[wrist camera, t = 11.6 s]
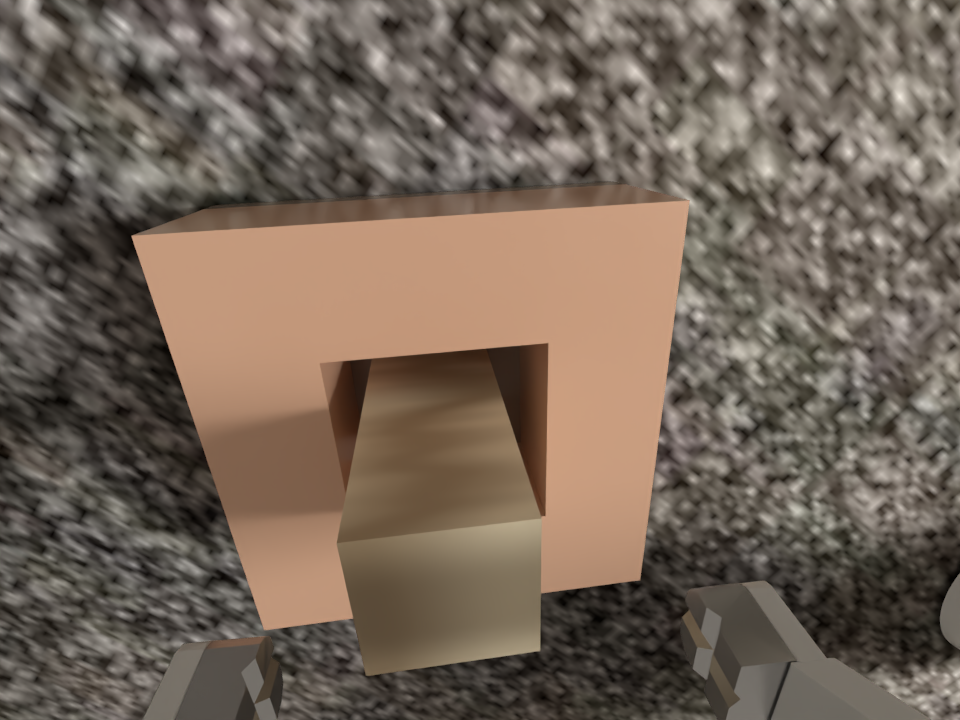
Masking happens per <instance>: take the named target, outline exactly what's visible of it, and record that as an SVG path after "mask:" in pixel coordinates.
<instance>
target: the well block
mask: <svg viewBox="0 0 960 720" xmlns="http://www.w3.org/2000/svg"><path fill="white" fill-rule="evenodd" d="M689 201H690V200H686V199H682V198H678V197H674V196H670V195H666V194H662V193H658V192H654V191H650V190H646V189H642V188H638V187H634V186H630V185H626V184H622V183H618V182H599V183H582V184H566V185H549V186H532V187H515V188H498V189H481V190H464V191H447V192H430V193H413V194H396V195H379V196H362V197H345V198H328V199H311V200H294V201H277V202H260V203H243V204H226V205H214V206H211V207H209V208H206V209H203V210H200V211H198V212H195V213H192V214H190V215H187V216H184V217H181V218H179V219H176V220H173V221H170V222H168V223H165V224H162V225H159V226H157V227H154V228H151V229H148V230H146V231H143V232H140V233H137V234H135V235H132V236H131V237H132V239H133V242H134V245H135V248H136V251H137V254H138V257H139V260H140V263H141V266H142V269H143V272H144V275H145V278H146V281H147V284H148V287H149V290H150V293H151V296H152V299H153V302H154V305H155V308H156V311H157V314H158V316H159V319H160V322H161V325H162V328H163V331H164V334H165V337H166V340H167V343H168V346H169V349H170V352H171V355H172V358H173V361H174V364H175V367H176V370H177V373H178V376H179V379H180V382H181V385H182V388H183V391H184V394H185V396H186V399H187V402H188V405H189V408H190V411H191V414H192V417H193V420H194V423H195V426H196V429H197V432H198V435H199V438H200V441H201V444H202V447H203V450H204V453H205V456H206V459H207V462H208V465H209V468H210V471H211V474H212V476H213V479H214V482H215V485H216V488H217V491H218V494H219V497H220V500H221V503H222V506H223V509H224V512H225V515H226V518H227V521H228V524H229V527H230V530H231V533H232V536H233V539H234V542H235V545H236V548H237V551H238V553H239V556H240V559H241V562H242V565H243V568H244V571H245V574H246V577H247V580H248V583H249V586H250V589H251V592H252V595H253V598H254V601H255V604H256V607H257V610H258V613H259V616H260V619H261V622H262V625H263V628H264V630H270V629H277V628H285V627H292V626H300V625H307V624H315V623H322V622H330V621H337V620H345V619H352V618H353V615H352V610H351V606H350V601H349V597H348V592H347V588H346V583H345V579H344V574H343V570H342V566H341V561H340V557H339V552H338V548H337V538H338V533H339V528H340V523H341V517H342V512H343V507H344V502H345V496H346V491H347V486H348V481H349V476H350V470H351V465H352V460H353V455H354V450H355V444H356V439H357V434H358V429H359V423H360V418H361V413H362V408H363V403H364V397H365V392H366V387H367V382H368V377H369V371H370V366H371V361H372V358H384V357H395V356H407V355H418V354H429V353H441V352H452V351H464V350H475V349H486V350H487V353H488V356H489V359H490V362H491V365H492V368H493V371H494V374H495V377H496V380H497V383H498V386H499V389H500V392H501V396H502V399H503V402H504V405H505V408H506V411H507V414H508V417H509V420H510V423H511V426H512V429H513V432H514V435H515V438H516V441H517V444H518V448H519V451H520V454H521V457H522V460H523V463H524V466H525V469H526V472H527V475H528V478H529V481H530V484H531V487H532V490H533V493H534V496H535V500H536V503H537V506H538V509H539V512H540V515H541V518H542V539H541V593H547V592H555V591H562V590H570V589H577V588H585V587H592V586H600V585H607V584H615V583H622V582H630V581H637V580H640V577H641V570H642V562H643V554H644V546H645V539H646V531H647V523H648V516H649V508H650V500H651V493H652V485H653V477H654V470H655V462H656V454H657V447H658V439H659V431H660V424H661V416H662V408H663V401H664V393H665V385H666V377H667V370H668V362H669V354H670V347H671V339H672V331H673V324H674V316H675V308H676V301H677V293H678V285H679V278H680V270H681V262H682V255H683V247H684V239H685V231H686V224H687V216H688V208H689Z"/></svg>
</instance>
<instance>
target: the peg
mask: <svg viewBox="0 0 960 720" xmlns="http://www.w3.org/2000/svg"><path fill="white" fill-rule="evenodd" d="M541 539H542V518H541V515H540V512H539V509H538V506H537V503H536V500H535V496H534V493H533V490H532V487H531V484H530V481H529V478H528V475H527V472H526V469H525V466H524V463H523V460H522V457H521V454H520V451H519V448H518V444H517V441H516V438H515V435H514V432H513V429H512V426H511V423H510V420H509V417H508V414H507V411H506V408H505V405H504V402H503V399H502V396H501V392H500V389H499V386H498V383H497V380H496V377H495V374H494V371H493V368H492V365H491V362H490V359H489V356H488V353H487V350H486V349H475V350H464V351H452V352H441V353H429V354H418V355H407V356H395V357H384V358H372V361H371V366H370V371H369V377H368V382H367V387H366V392H365V397H364V403H363V408H362V413H361V418H360V423H359V429H358V434H357V439H356V444H355V450H354V455H353V460H352V465H351V470H350V476H349V481H348V486H347V491H346V496H345V502H344V507H343V512H342V517H341V523H340V528H339V533H338V538H337V548H338V552H339V557H340V561H341V566H342V570H343V574H344V579H345V583H346V588H347V592H348V597H349V601H350V606H351V610H352V615H353V619H354V624H355V628H356V633H357V637H358V642H359V646H360V651H361V655H362V660H363V664H364V669H365V673H366V676H370V675H377V674H384V673H391V672H398V671H405V670H412V669H419V668H425V667H432V666H439V665H446V664H453V663H460V662H467V661H474V660H481V659H488V658H495V657H502V656H509V655H516V654H523V653H529V652H536V651H540V628H541Z"/></svg>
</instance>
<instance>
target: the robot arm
mask: <svg viewBox="0 0 960 720" xmlns="http://www.w3.org/2000/svg"><path fill="white" fill-rule="evenodd" d="M685 603H686V604H687V606H688V608H689V611H688V612H687V613H686V614H685V615H684V616H683V617H682V620H681V627H680V632H681V638H682V644H683V647H684V650H685V653H686V656H687V658H688V660H689V662H690V665H691V667H692V669H693V670H695V671H696V672H697V673H698V674H700V675H701V676H702V677H703V678H705V679H706V684H705V691H704V693H705V695H706V697H707V699H708V701H709V703H710V705H711V707H712V709H713V711H714V713H715V715H716V717H717V719H718V720H931V719H929V718H928V717H926V716H925V715H923V714H922V713H920V712H918V711H917V710H915V709H914V708H912V707H911V706H909V705H907V704H906V703H904V702H903V701H901V700H900V699H898V698H897V697H895V696H893V695H892V694H890V693H889V692H887V691H886V690H884V689H883V688H881V687H879V686H878V685H876V684H875V683H873V682H872V681H870V680H869V679H867V678H865V677H864V676H862V675H861V674H859V673H858V672H856V671H855V670H853V669H851V668H850V667H848V666H847V665H845V664H844V663H842V662H841V661H839V660H837V659H836V658H826V656H825V655H824V654H823V653H822V651H821V650H820V649H819V647H818V646H817V645H816V643H815V642H814V641H813V639H812V638H811V637H810V635H809V634H808V633H807V632H806V630H805V629H804V628H803V626H802V625H801V624H800V622H799V621H798V620H797V618H796V617H795V616H794V615H793V613H792V612H791V611H790V609H789V608H788V607H787V605H786V604H785V603H784V601H783V600H782V599H781V597H780V596H779V595H778V594H777V592H776V591H775V590H774V588H773V587H772V586H771V585H770V584H769V583H767V582H766V581H755V582H747V583H740V584H738V583H732V584H724V585H716V586H708V587H700V588H693V589H690V590H689V591H688V592H687V595H686V599H685ZM940 626H941V630H942V633H943V635H944V637H945V638H946V639H947V641H948V642H949V643H951V644H952V645H953V646H955V647H956V648H958V649H959V650H960V573H959V575H958V576H957V577H956V579H955V580H954V582H953V584H952V585H951V587H950V589H949V591H948V592H947V595H946V597H945V599H944V602H943V605H942V608H941V613H940ZM273 650H274V646H273V643H272V640H271V638H270V636H263V637H252V638H240V639H229V640H217V641H205V642H196V643H186V644H183V645H182V646H181V647H180V648H179V649H178V651H177V652H176V653H175V654H174V656H173V658H172V660H171V662H170V664H169V666H168V668H167V671H166V673H165V675H164V677H163V679H162V681H161V683H160V685H159V687H158V689H157V691H156V693H155V695H154V697H153V699H152V701H151V703H150V705H149V707H148V710H147V712H146V714H145V716H144V718H143V720H277V717H278V713H279V709H280V705H281V699H282V689H283V678H282V670H281V667H280V664H279V662H277V661H276V660H274V659H272V658H271V657H272V653H273Z"/></svg>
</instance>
